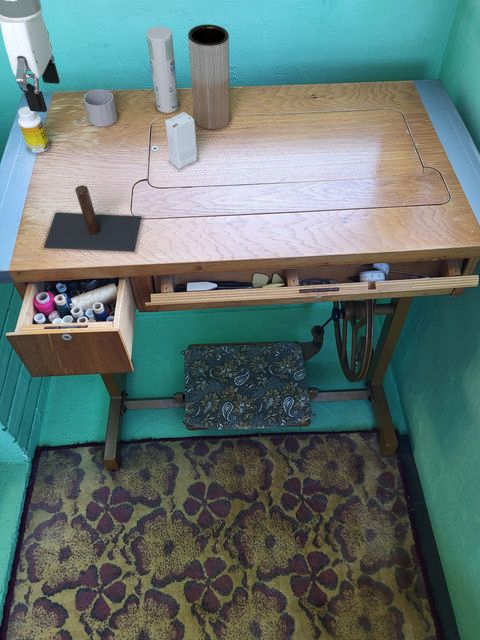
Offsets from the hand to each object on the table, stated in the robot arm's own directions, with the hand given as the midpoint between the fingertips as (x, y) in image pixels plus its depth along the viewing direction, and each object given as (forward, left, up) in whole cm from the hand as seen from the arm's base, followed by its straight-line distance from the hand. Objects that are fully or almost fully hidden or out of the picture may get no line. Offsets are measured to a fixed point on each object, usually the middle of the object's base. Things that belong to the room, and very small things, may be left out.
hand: (45, 96), depth 104 cm
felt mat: (+5, -10, -27) cm, 29 cm away
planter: (+29, +36, -27) cm, 54 cm away
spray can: (+16, +41, -27) cm, 52 cm away
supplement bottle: (-15, +20, -27) cm, 37 cm away
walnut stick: (+6, -10, -26) cm, 29 cm away
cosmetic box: (+23, +17, -27) cm, 40 cm away
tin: (-1, +34, -27) cm, 44 cm away
